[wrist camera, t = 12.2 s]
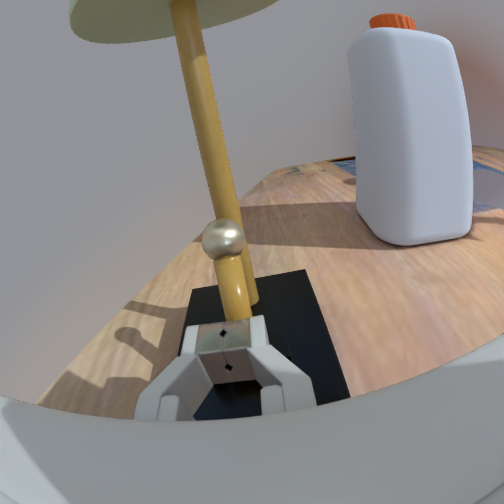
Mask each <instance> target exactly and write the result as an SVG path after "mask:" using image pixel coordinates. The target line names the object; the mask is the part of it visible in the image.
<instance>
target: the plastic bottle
mask: <svg viewBox="0 0 504 504" xmlns="http://www.w3.org/2000/svg"><path fill="white" fill-rule="evenodd" d="M369 23H370V26H371V29H370V30H368V31H366V32H364V33H363V34H361V35H360V36H359V37H357V38H356V39H355V40H354V41H353V42H351V43H350V44H349V46H348V47H347V57H348V65H349V72H350V81H351V90H352V100H353V113H354V129H355V150H356V209H357V211H358V213H359V214H360V215H361V217H362V218H363V219H364V221H365V222H366V223H367V225H368V226H369V227H370V229H371V230H372V231H373V233H374V234H375V235H376V236H377V237H378V238H380V239H381V240H383V241H385V242H388V243H391V244H395V245H403V246H409V245H417V244H423V243H429V242H436V241H442V240H448V239H454V238H459V237H462V236H464V235H465V234H467V233H468V231H469V230H470V228H471V225H472V210H473V163H472V147H471V135H470V126H469V119H468V112H467V105H466V99H465V94H464V89H463V84H462V79H461V75H460V71H459V67H458V63H457V59H456V55H455V52H454V48H453V46H452V44H451V43H450V42H449V41H448V40H447V39H446V38H444V37H442V36H439V35H434V34H430V33H427V32H421V31H417V30H416V26H415V23H414V20H412V19H411V18H410V17H408V16H405V15H402V14H381V15H377V16H375V17H372V18H371V20H370V21H369Z"/></svg>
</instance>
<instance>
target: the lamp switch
mask: <svg viewBox="0 0 504 504" xmlns="http://www.w3.org/2000/svg"><path fill="white" fill-rule="evenodd" d="M202 247H203V249H204V251H205V253H206V254H207V255H208V256H209V257H210V258H211V259H213V260H214V267H215V271H216V276H217V281H218V286H219V290H220V295H221V300H222V304H223V309H224V313H225V318H226V321H232V320H238V319H244V318H250V317H253V316H252V311H251V306H250V300H249V295H248V290H247V285H246V280H245V275H244V270H243V265H242V260H241V256H240V254H241V253H242V251H243V250H244V247H245V234H244V231H243V229H242V228H241V226H240V225H239V224H238V223H236V222H235V221H233V220H231V219H226V218H221V219H217V220H214V221H212V222H211V223H209V224H208V225H207V227H206V228H205V229H204V231H203V234H202Z"/></svg>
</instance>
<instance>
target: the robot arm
mask: <svg viewBox="0 0 504 504" xmlns="http://www.w3.org/2000/svg"><path fill="white" fill-rule="evenodd" d="M247 380H257V381H258V383H259V384H260V385H261V386H262V387H263V388H262V389H261V407H262V415H261V416H254V417H245V418H234V419H222V420H205V421H196V420H195V419H194V417H193V415H194V413H195V412H196V411H197V409H198V408H199V406H200V405H201V403H202V402H203V400H204V399H205V397H206V396H207V394H208V393H209V391H210V390H211V388H212V387H213V384H221V383H229V382H237V381H247ZM0 504H504V333H503V334H502V335H500V336H498V337H497V338H495V339H493V340H491V341H490V342H488V343H486V344H484V345H483V346H481V347H479V348H477V349H475V350H473V351H471V352H469V353H467V354H465V355H463V356H461V357H459V358H457V359H455V360H453V361H451V362H449V363H446V364H444V365H442V366H440V367H437V368H435V369H433V370H430V371H428V372H425V373H423V374H421V375H418V376H415V377H413V378H410V379H408V380H405V381H402V382H399V383H397V384H394V385H391V386H388V387H385V388H382V389H379V390H375V391H372V392H369V393H366V394H362V395H359V396H355V397H352V398H348V399H344V400H340V401H336V402H332V403H328V404H323V405H319V406H317V404H316V399H315V395H314V391H313V386H312V382H311V378H310V377H309V376H308V375H306V374H305V373H304V372H303V371H302V370H300V369H299V368H298V367H297V366H295V365H294V364H293V363H292V362H291V361H289V360H288V359H287V358H286V357H285V356H283V355H282V354H281V353H280V352H279V351H277V350H276V349H275V348H274V347H273V346H272V345H270V344H269V338H268V334H267V329H266V324H265V320H264V316H263V315H259V316H254V317H250V318H244V319H238V320H232V321H226V322H218V323H210V324H201V325H194V326H188V327H187V328H186V331H185V336H184V340H183V345H182V350H181V355H180V356H178V357H176V358H175V359H174V360H173V361H172V362H171V363H170V364H169V365H168V366H167V367H166V368H165V369H164V370H163V371H162V372H161V373H160V374H159V375H158V376H157V377H156V378H155V379H154V380H153V381H152V382H151V383H150V384H149V385H148V386H147V387H146V388H145V389H144V390H143V391H142V392H141V393H140V394H139V396H138V400H137V404H136V408H135V412H134V416H133V420H130V419H118V418H108V417H99V416H91V415H84V414H78V413H72V412H67V411H61V410H56V409H51V408H47V407H43V406H38V405H34V404H30V403H27V402H22V401H19V400H16V399H13V398H9V397H6V396H3V395H0Z"/></svg>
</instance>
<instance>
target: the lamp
mask: <svg viewBox="0 0 504 504" xmlns="http://www.w3.org/2000/svg"><path fill="white" fill-rule="evenodd" d="M277 1H278V0H69V16H70V25H71V29H72V30H73V32H74V33H75V34H76V35H77V36H78V37H80V38H82V39H84V40H87V41H90V42H95V43H105V44H119V43H132V42H141V41H148V40H155V39H161V38H166V37H171V36H175V37H176V42H177V47H178V52H179V57H180V62H181V67H182V72H183V77H184V81H185V86H186V91H187V96H188V100H189V105H190V109H191V114H192V119H193V123H194V127H195V131H196V136H197V140H198V145H199V149H200V153H201V157H202V161H203V166H204V170H205V175H206V179H207V183H208V187H209V191H210V195H211V199H212V203H213V207H214V211H215V215H216V219H221V218H226V219H231V220H233V221H235V222H236V223H238V224H239V225H240V226H241V228H242V229H243V231H244V228H243V223H242V219H241V214H240V209H239V205H238V200H237V195H236V191H235V186H234V182H233V177H232V173H231V168H230V163H229V159H228V154H227V149H226V144H225V140H224V135H223V130H222V126H221V121H220V116H219V112H218V107H217V103H216V98H215V93H214V88H213V84H212V79H211V74H210V69H209V65H208V60H207V55H206V51H205V46H204V41H203V36H202V31H201V30H202V29H206V28H210V27H213V26H217V25H221V24H224V23H227V22H231V21H234V20H237V19H240V18H242V17H245V16H248V15H250V14H253V13H255V12H258V11H260V10H262V9H264V8H266V7H268V6H270V5H272V4H274V3H275V2H277ZM244 234H245V232H244ZM240 256H241V260H242V265H243V270H244V275H245V280H246V285H247V290H248V295H249V300H250V306H251V311H252V316H253V317H254V316H259V315H263V316H264V320H265V324H266V329H267V334H268V338H269V344H270V345H272V346H273V347H274V348H275V349H276V350H277V351H279V352H280V353H281V354H282V355H283V356H285V357H286V358H287V359H288V360H289V361H291V362H292V363H293V364H294V365H295V366H297V367H298V368H299V369H300V370H302V371H303V372H304V373H305V374H306V375H308V376H309V377H310V378H311V382H312V386H313V391H314V395H315V399H316V404H317V406H319V405H323V404H328V403H332V402H336V401H340V400H344V399H348V398H351V396H350V393H349V390H348V387H347V384H346V381H345V378H344V375H343V372H342V369H341V366H340V363H339V360H338V357H337V354H336V351H335V349H334V346H333V343H332V340H331V337H330V334H329V332H328V329H327V326H326V323H325V321H324V318H323V315H322V312H321V310H320V307H319V304H318V302H317V299H316V296H315V294H314V291H313V288H312V286H311V283H310V281H309V278H308V275H307V273H306V270H305V269H303V270H298V271H292V272H287V273H282V274H276V275H271V276H265V277H260V278H254V274H253V269H252V264H251V260H250V255H249V251H248V246H247V242H246V237H245V247H244V250H243V251H242V253H241V254H240ZM218 322H226V318H225V313H224V309H223V304H222V300H221V295H220V290H219V286H218V285H214V286H208V287H202V288H196V289H192V293H191V297H190V301H189V306H188V310H187V314H186V319H185V323H184V328H183V332H182V337H181V342H180V346H179V351H178V356H180V355H181V350H182V345H183V340H184V336H185V331H186V328H187V327H188V326H194V325H201V324H210V323H218ZM178 356H177V357H178ZM262 388H263V387H262V386H261V385H260V384H259V383H258V381H257V380H247V381H237V382H229V383H221V384H213V387H212V388H211V390H210V391H209V393H208V394H207V396H206V397H205V399H204V400H203V402H202V403H201V405H200V406H199V408H198V409H197V411H196V412H195V413H194V415H193V417H194V419H195V420H196V421H205V420H222V419H234V418H245V417H254V416H261V415H262V407H261V389H262Z"/></svg>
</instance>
